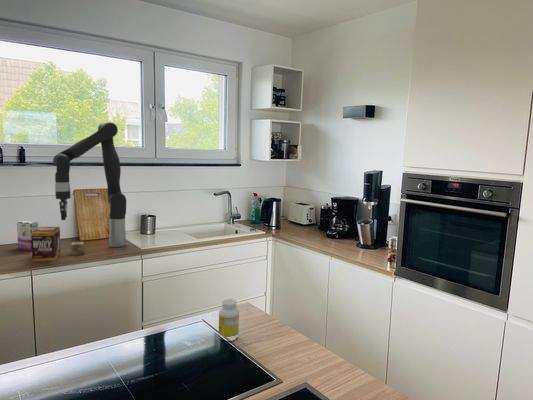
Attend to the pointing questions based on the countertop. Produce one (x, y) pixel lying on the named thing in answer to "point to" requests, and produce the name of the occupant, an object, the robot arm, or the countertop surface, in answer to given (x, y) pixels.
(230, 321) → the supplement bottle
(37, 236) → the supplement box
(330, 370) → the countertop surface
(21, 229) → the candy bar box
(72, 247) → the walnut block
